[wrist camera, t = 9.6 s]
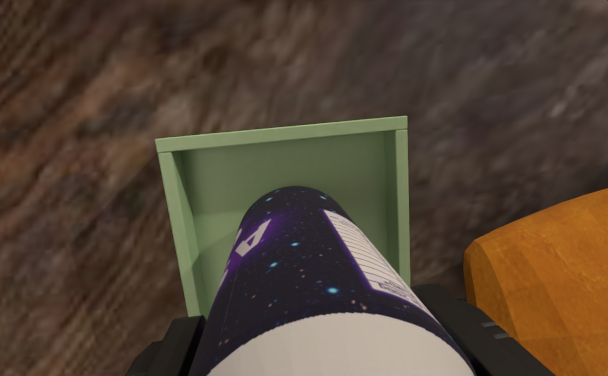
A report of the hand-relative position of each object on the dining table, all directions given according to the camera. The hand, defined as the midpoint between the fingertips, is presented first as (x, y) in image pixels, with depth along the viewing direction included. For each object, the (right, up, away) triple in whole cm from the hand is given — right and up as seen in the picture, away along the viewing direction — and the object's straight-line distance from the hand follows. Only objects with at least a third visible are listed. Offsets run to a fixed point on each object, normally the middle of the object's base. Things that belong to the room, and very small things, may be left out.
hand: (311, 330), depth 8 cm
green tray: (-1, +2, +8) cm, 8 cm away
